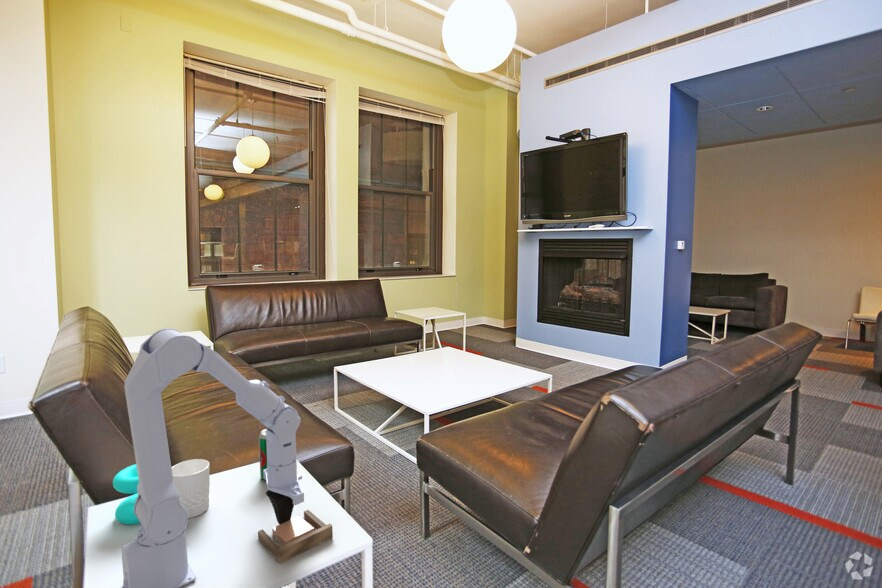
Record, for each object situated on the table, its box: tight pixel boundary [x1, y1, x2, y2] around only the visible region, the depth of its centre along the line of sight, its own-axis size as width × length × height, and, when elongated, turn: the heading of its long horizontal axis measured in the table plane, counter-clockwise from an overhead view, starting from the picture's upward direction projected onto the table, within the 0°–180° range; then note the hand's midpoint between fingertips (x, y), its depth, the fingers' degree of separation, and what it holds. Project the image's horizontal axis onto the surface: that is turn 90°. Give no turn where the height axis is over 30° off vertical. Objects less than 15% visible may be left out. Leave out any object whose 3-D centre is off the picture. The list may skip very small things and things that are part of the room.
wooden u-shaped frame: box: [257, 509, 334, 564], centre depth 92 cm, size 11×10×2 cm
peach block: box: [271, 515, 315, 546], centre depth 93 cm, size 6×6×2 cm
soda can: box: [258, 428, 267, 481], centre depth 116 cm, size 5×5×12 cm
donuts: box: [112, 463, 141, 525], centre depth 100 cm, size 10×10×10 cm
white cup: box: [171, 458, 210, 519], centre depth 101 cm, size 8×8×10 cm
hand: (284, 522), depth 96 cm, fingers closed
